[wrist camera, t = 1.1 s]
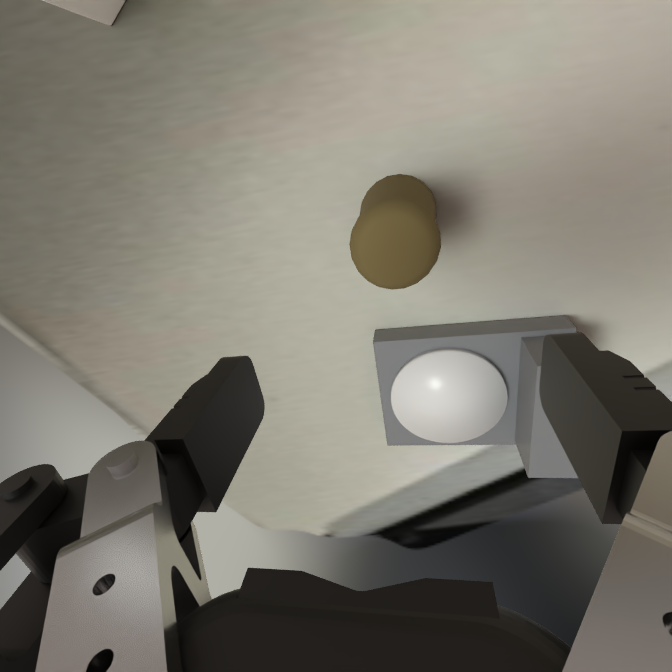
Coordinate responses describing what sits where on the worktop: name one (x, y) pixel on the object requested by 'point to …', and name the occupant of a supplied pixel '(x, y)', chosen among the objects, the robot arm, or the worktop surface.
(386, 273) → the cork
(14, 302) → the worktop surface
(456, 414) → the knob on square plate
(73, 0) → the milk
